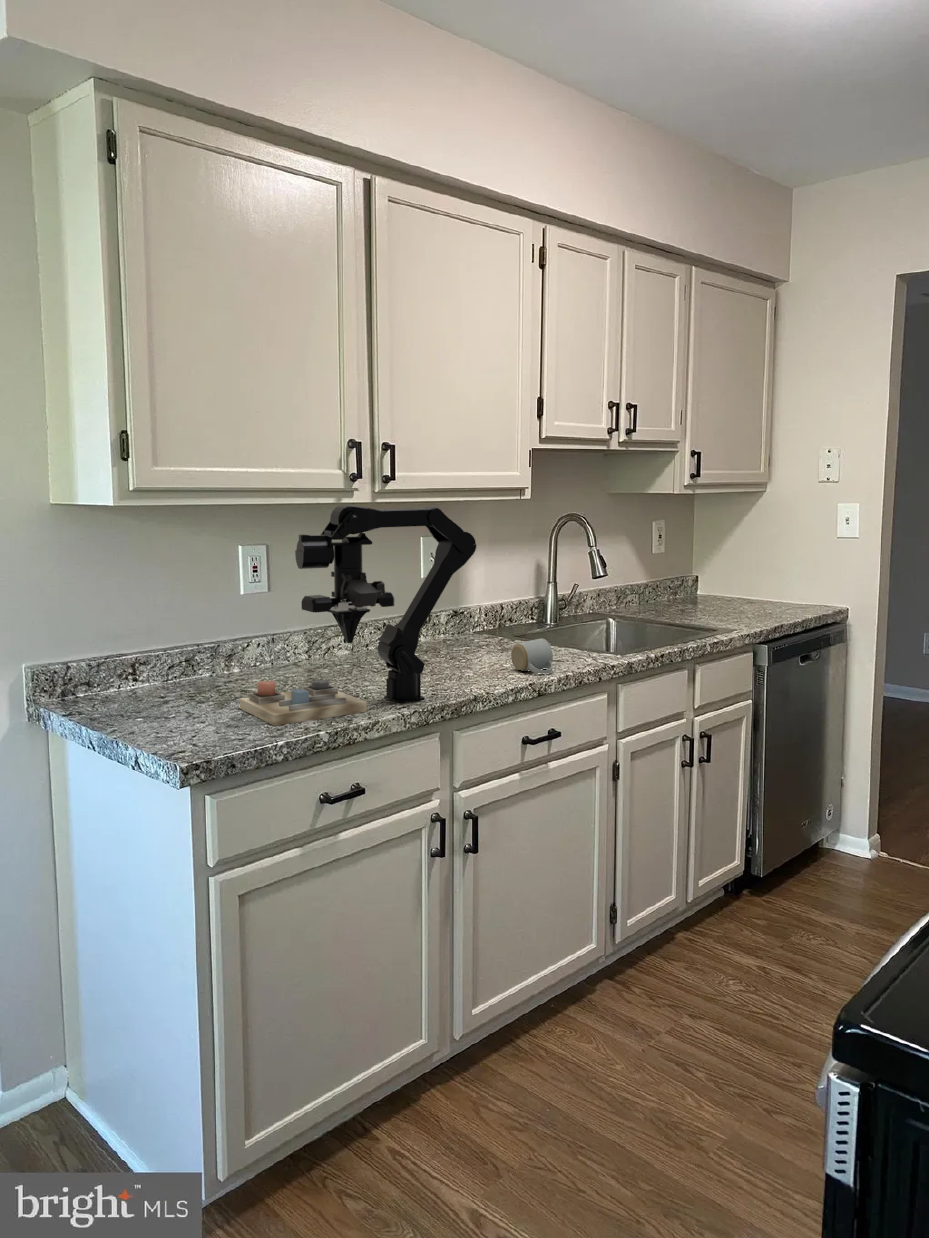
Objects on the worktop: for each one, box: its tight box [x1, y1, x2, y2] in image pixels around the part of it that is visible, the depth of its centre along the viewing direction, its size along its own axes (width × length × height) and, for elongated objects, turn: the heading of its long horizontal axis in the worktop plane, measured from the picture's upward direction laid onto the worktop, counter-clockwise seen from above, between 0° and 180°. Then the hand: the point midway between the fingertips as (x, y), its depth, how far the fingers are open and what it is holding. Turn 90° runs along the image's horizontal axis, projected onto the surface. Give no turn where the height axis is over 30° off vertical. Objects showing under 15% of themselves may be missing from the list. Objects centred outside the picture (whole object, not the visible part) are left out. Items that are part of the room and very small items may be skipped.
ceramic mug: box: [510, 637, 554, 674], centre depth 235 cm, size 11×8×8 cm
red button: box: [256, 680, 277, 695], centre depth 195 cm, size 4×4×2 cm
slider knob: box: [290, 688, 309, 705], centre depth 190 cm, size 2×3×3 cm
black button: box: [311, 679, 330, 690], centre depth 202 cm, size 4×4×2 cm
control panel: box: [239, 684, 368, 726], centre depth 195 cm, size 20×17×3 cm
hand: (349, 643), depth 198 cm, fingers closed
